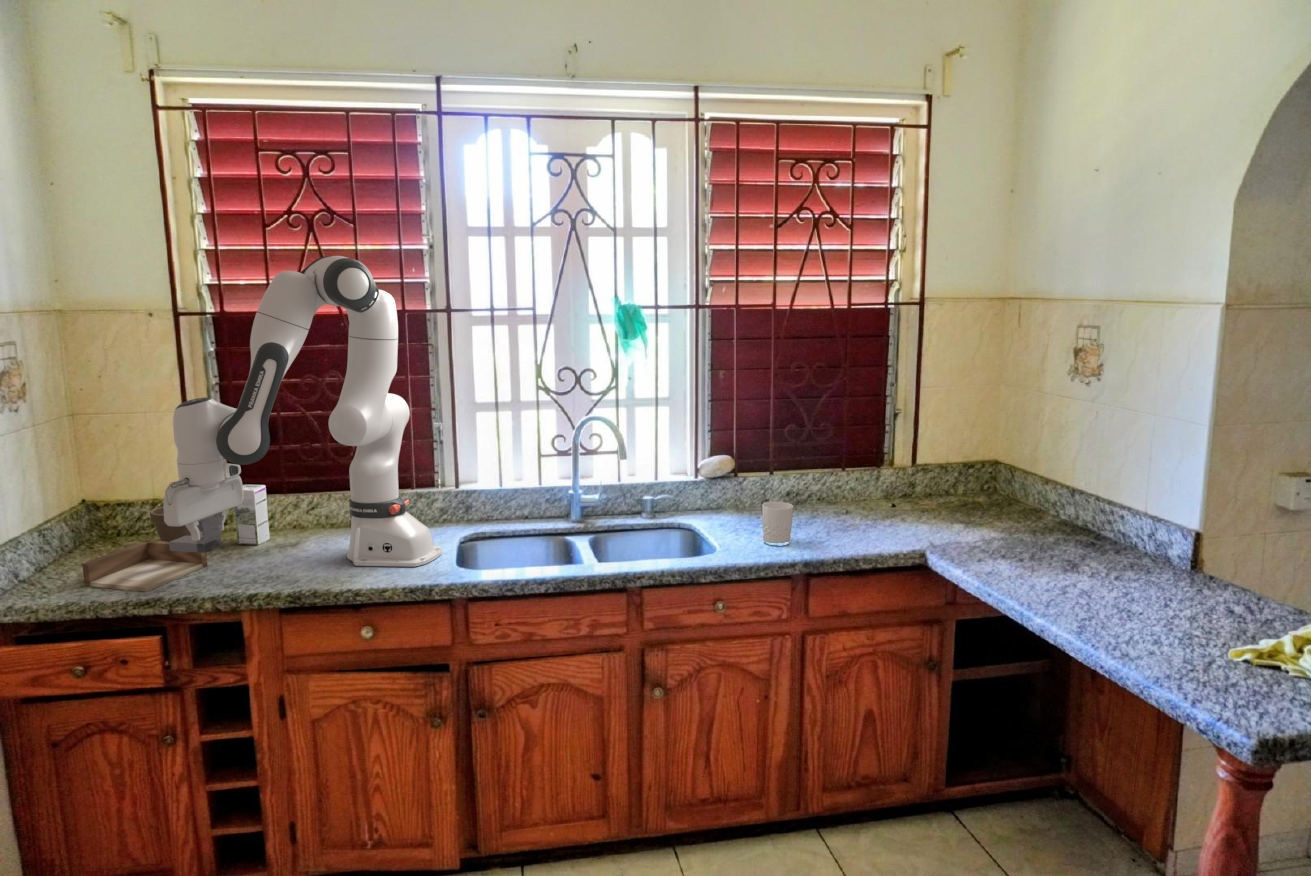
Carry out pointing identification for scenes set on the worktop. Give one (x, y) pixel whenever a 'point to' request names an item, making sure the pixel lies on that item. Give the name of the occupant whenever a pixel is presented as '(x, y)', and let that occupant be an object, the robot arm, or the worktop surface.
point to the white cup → (777, 521)
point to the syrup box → (252, 516)
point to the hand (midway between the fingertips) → (208, 535)
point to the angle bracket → (203, 545)
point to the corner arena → (141, 567)
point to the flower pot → (163, 529)
